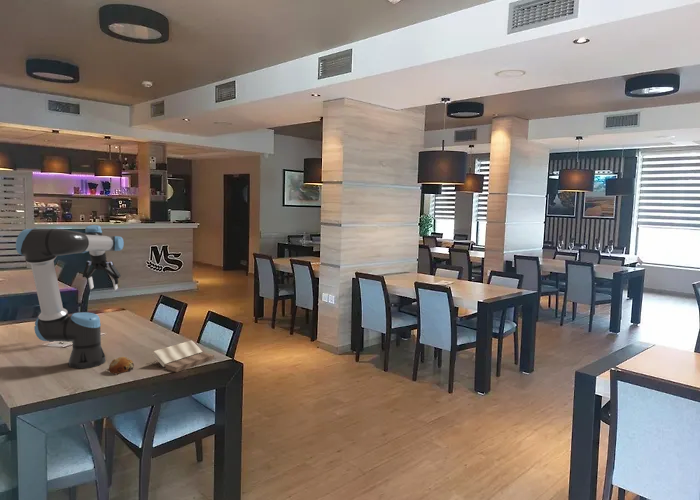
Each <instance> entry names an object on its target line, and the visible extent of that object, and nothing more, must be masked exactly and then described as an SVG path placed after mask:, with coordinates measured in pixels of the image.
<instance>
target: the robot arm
mask: <svg viewBox="0 0 700 500" xmlns="http://www.w3.org/2000/svg"><path fill="white" fill-rule="evenodd" d="M84 232H85V233H83V232H81V231H73V230H68V229H62V228H35V227H34V228H25V229H23V230H22V231H20V232H19V233H18V235H17V237H16V241H15V251H16V253H18V254H19V255H21V256H23V257H24V259H25V262H26V263H28V264H29V265H30V266H31V271H32V277H33V280H34V285H35V290H36V295H37V299H38V304H39V309H40V313H39V315H38V316H37V318H36V320H35V322H34V327H33V328H34V329H33V330H34V333H35V335H36V338H37V339H39V340H40V341H43V342H51V343H53V342H70V343H72V349H71V353H70V356H69V359H68V366H69V367H70V368H73V369H87V368H88V369H89V368H93V367H94V368H95V367H97V366H100V365H102V364H103V365H104V364H105V362H106V360H107V359H106V355H105V352H104V350H103V347H102V339H101V337H102V336H101V335H102V334H101V333H102V332H101V331H102V330H101V319H100V316H99V315H98V314H97V313H94V312H88V311H87V312H83V311H82V312H74V313H72V314H71V315H69V312H68V309H66V308H64V307H63V306H64V305H63V301H62V296H61V291H60V285H59V281H58V276H57V271H56V266H55V262H54V261H55V260H56V258H57V257H58V256H66V255H73V254H75V255H76V254H85V253H88V252H89V255H90V256H89V257H90V260H86V262H85V267H84V271H83V273H82V278H85V279H86V282H87V284H88V285H89V286H88V287H89V290H92V289H94V288H95V287H94V280H93V279H94V278H93V276H92V274H93V273H95V271H96V270H97V271H98V270H99V271H103V272H106V273H107V274H108V275H109V276H111V277H112V285H113V290H114V291H117V290H118V289H119V287H118V284H119V279H120V278H121V276H122V275H121V273H120V272H119V270H118V269H117V268H116V266H115V264H114V262H113V260H111V261H107V253H106V252H107V251H108V252H121V251H122V250H123V248H124V247H125V246H124V245H125V243H124V241H125V240H124V238H123V237H122V236H119V235H114V236H113V235H103V230H102V227H101V225H97V224H92V225H87V226H86V227H85V231H84ZM91 265H92V266H93V267H92V268H91V269H90V267H91Z"/></svg>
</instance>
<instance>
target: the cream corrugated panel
mask: <svg viewBox="0 0 700 500" xmlns="http://www.w3.org/2000/svg"><path fill="white" fill-rule="evenodd" d="M200 353H203V350H202V349H201V348H200V347H199V346H198V345H197V344H196V343H195V342H194V341H193V340H188V341H184V342H181V343H177V344H174V345H171V346H167V347H163V348H159V349H156V350H153V351H152V356H153V357H154V358H155V359H156V361H158V362H157V363H158V364H159V365H160V366H161V367H162V366H163V367H162V368H166V367H165V365H166V364H169V363H172V362H175V361H178V360H181V359H184V358H187V357H190V356H193V355H197V354H200Z"/></svg>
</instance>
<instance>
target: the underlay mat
mask: <svg viewBox="0 0 700 500" xmlns="http://www.w3.org/2000/svg"><path fill="white" fill-rule="evenodd" d="M213 360H216V358H215V357H214V359H213ZM207 362H211V360H210V361H207ZM207 362H204V364H205V363H207ZM158 363H159V362H158V360H156V361H155V363H150V366H152V367H156V368H158V369H161V370H165V371H168V372H172V371H171V370H168V369H166V367H163V366H162V365H159V364H158ZM146 365H149V362H148V363H146ZM197 366H200V364H198V365H195V366H193V367H192V368H195V367H197ZM188 369H191V367H190V368H188ZM181 371H182V372H184V370H181ZM179 372H180V371H178V372H177V373H179ZM173 373H175V374H176V372H175V371H173Z"/></svg>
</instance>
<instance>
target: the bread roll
mask: <svg viewBox="0 0 700 500" xmlns="http://www.w3.org/2000/svg"><path fill="white" fill-rule="evenodd" d="M134 367H135V363H134V361H133V360H132V359H131V358H130V357H128V356H119V357H116V358H114V359H113V360H112V361H111V362H110V364H109V365H108V371H109V372H110V373H111V374H115V375H120V374H123V373H127V372H131V371H133V370H134Z"/></svg>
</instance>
